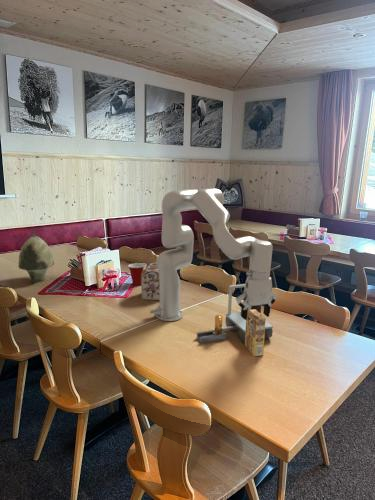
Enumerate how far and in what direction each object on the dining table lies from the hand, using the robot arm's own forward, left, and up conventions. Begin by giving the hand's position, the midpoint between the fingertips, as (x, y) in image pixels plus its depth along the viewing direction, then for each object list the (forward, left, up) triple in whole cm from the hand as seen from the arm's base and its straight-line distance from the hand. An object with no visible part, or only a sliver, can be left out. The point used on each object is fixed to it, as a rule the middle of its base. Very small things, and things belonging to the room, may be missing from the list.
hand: (255, 316), depth 140 cm
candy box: (0, 0, -14) cm, 14 cm away
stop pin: (-5, +14, -13) cm, 20 cm away
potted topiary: (-80, +115, -14) cm, 141 cm away
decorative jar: (-21, +68, -14) cm, 72 cm away
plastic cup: (-25, +90, -14) cm, 94 cm away
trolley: (+5, +14, -14) cm, 20 cm away
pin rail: (-12, +14, -14) cm, 23 cm away
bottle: (+17, +29, -14) cm, 36 cm away
